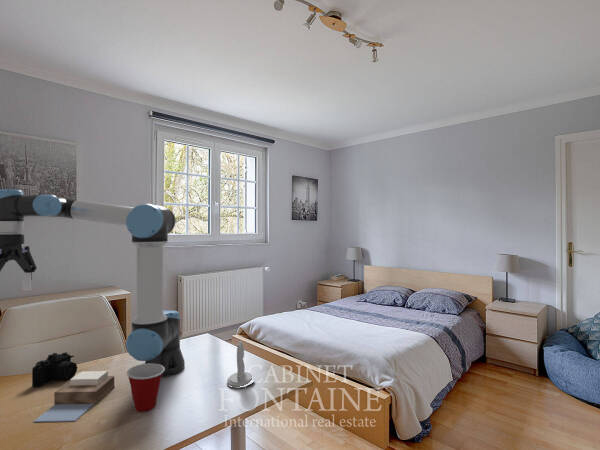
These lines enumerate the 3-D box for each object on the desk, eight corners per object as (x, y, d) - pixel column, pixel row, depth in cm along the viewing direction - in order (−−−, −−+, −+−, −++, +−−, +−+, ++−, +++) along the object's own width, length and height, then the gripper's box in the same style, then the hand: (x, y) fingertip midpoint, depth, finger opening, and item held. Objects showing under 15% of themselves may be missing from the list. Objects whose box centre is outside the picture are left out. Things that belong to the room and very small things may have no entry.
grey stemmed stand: (256, 375, 125) (256, 336, 125) (251, 388, 115) (251, 345, 115) (230, 375, 126) (230, 336, 126) (223, 388, 116) (223, 345, 116)
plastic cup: (161, 414, 100) (161, 374, 100) (122, 419, 97) (122, 378, 97) (167, 396, 110) (167, 360, 110) (132, 400, 108) (132, 363, 108)
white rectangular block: (107, 376, 116) (107, 371, 116) (97, 384, 110) (97, 378, 110) (81, 377, 116) (81, 371, 116) (70, 385, 110) (70, 379, 110)
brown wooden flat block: (114, 387, 117) (114, 376, 117) (96, 404, 106) (95, 391, 106) (76, 388, 117) (76, 376, 117) (54, 404, 106) (54, 392, 106)
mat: (93, 404, 106) (93, 403, 106) (75, 421, 97) (75, 420, 97) (55, 405, 105) (55, 404, 105) (33, 422, 96) (33, 421, 96)
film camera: (50, 390, 115) (50, 364, 115) (27, 387, 117) (27, 362, 117) (86, 371, 130) (86, 348, 130) (65, 369, 132) (65, 347, 132)
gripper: (27, 233, 129) (28, 287, 129) (-36, 234, 104) (-35, 302, 104) (47, 232, 129) (48, 287, 129) (-12, 234, 104) (-11, 301, 104)
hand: (11, 294), depth 117 cm, fingers open, 13 cm apart
